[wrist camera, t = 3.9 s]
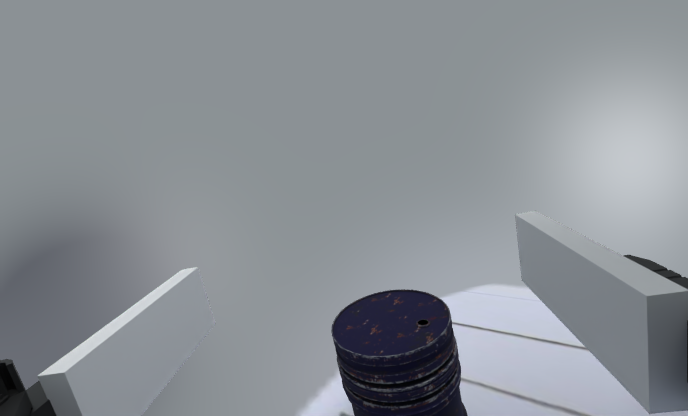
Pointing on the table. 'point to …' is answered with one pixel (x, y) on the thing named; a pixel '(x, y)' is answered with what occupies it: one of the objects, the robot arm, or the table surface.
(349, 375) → the dark blue cylinder
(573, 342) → the table surface
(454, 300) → the table surface
